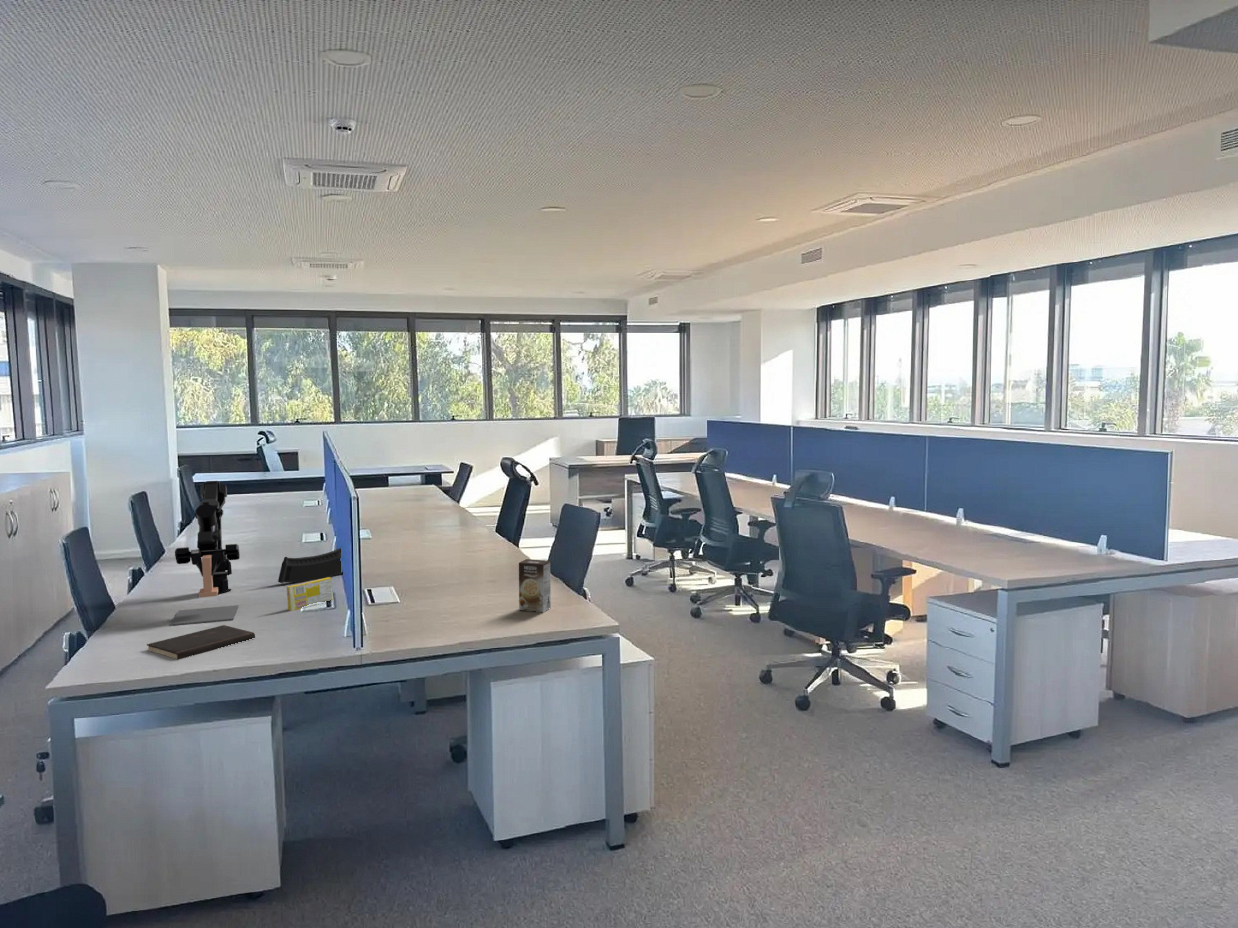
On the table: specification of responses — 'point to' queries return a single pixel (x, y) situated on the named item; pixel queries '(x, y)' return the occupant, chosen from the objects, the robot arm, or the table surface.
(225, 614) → the mat
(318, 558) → the magazine
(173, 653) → the hardcover book
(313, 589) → the candy box
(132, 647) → the table surface
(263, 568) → the table surface
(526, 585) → the coffee box
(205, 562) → the pink block bookend
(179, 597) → the table surface
